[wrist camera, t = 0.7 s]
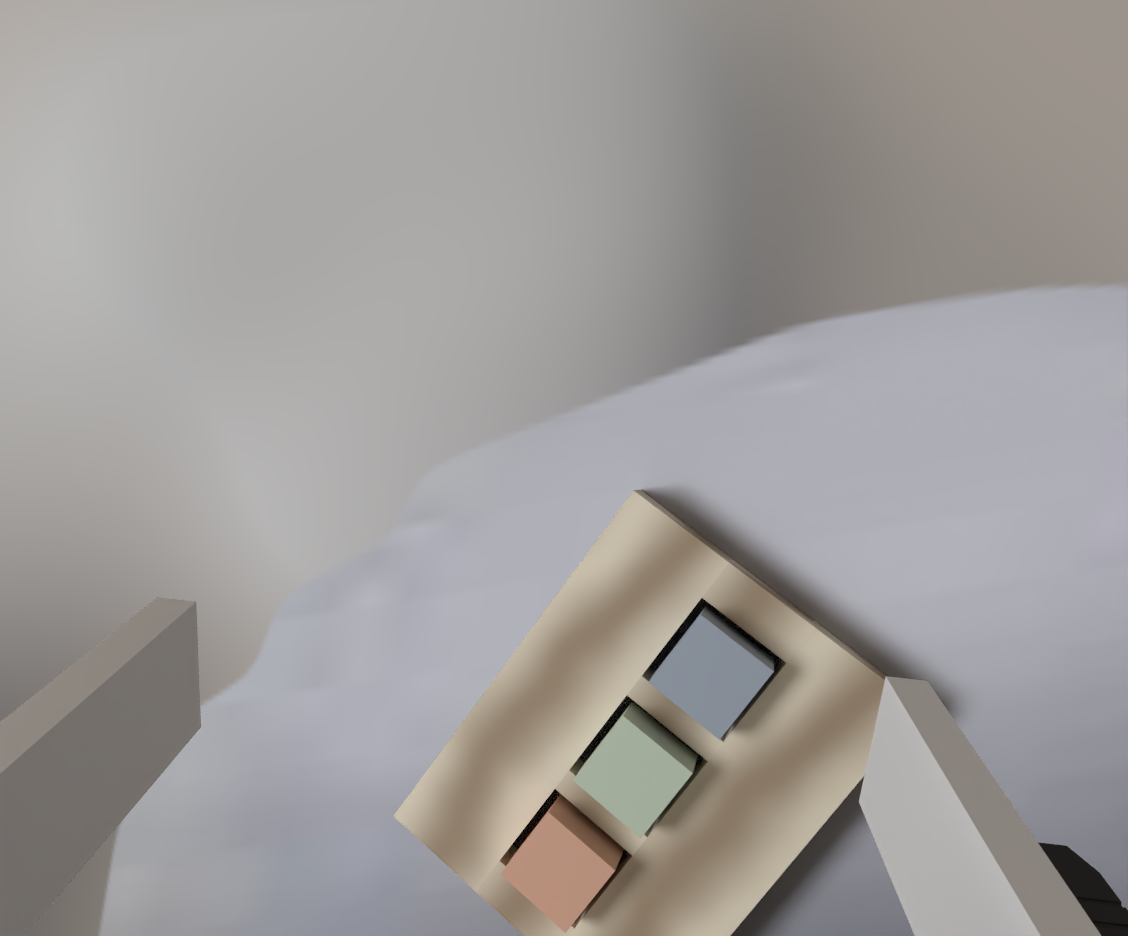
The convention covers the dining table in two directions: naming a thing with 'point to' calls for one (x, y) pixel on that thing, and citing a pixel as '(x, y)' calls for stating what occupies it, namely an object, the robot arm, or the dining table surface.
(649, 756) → the sage button
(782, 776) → the button panel
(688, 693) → the slate button
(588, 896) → the terracotta button
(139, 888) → the dining table surface
